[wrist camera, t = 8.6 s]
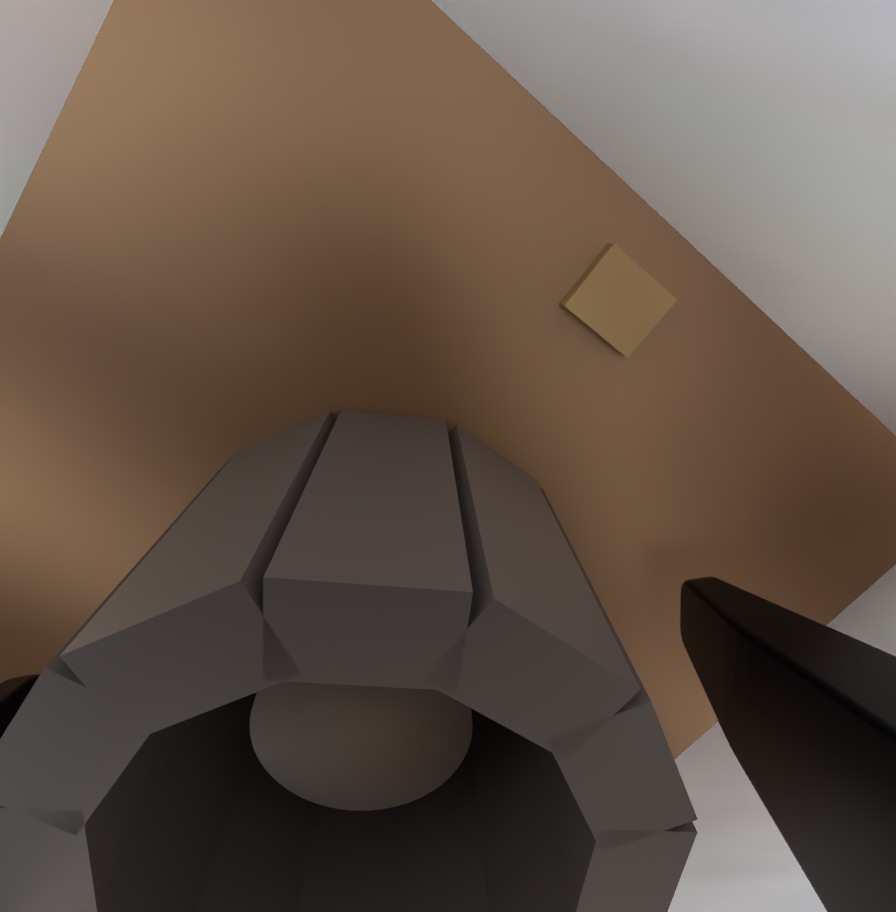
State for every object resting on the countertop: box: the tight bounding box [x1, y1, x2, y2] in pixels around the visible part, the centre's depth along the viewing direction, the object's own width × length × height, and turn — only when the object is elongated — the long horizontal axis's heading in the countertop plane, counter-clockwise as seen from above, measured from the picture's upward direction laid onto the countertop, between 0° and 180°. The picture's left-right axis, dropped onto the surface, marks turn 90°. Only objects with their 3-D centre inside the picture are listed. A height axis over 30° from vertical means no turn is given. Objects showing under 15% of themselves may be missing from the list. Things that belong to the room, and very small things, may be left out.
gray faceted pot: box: [0, 410, 697, 912], centre depth 7 cm, size 6×7×5 cm
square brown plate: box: [0, 0, 896, 811], centre depth 9 cm, size 14×14×4 cm
